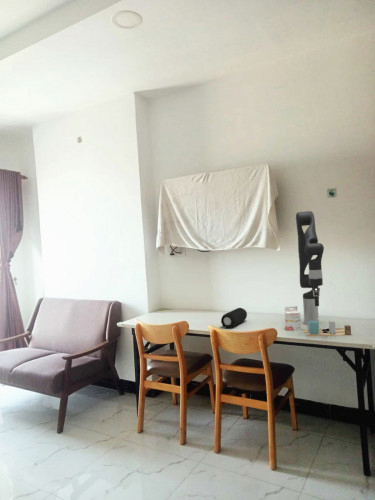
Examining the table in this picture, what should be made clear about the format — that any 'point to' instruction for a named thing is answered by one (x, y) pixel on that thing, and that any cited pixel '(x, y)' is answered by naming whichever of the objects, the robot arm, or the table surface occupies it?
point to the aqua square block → (313, 327)
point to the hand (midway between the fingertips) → (317, 304)
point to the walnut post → (347, 329)
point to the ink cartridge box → (292, 319)
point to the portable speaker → (233, 317)
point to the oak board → (338, 333)
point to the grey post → (332, 328)
